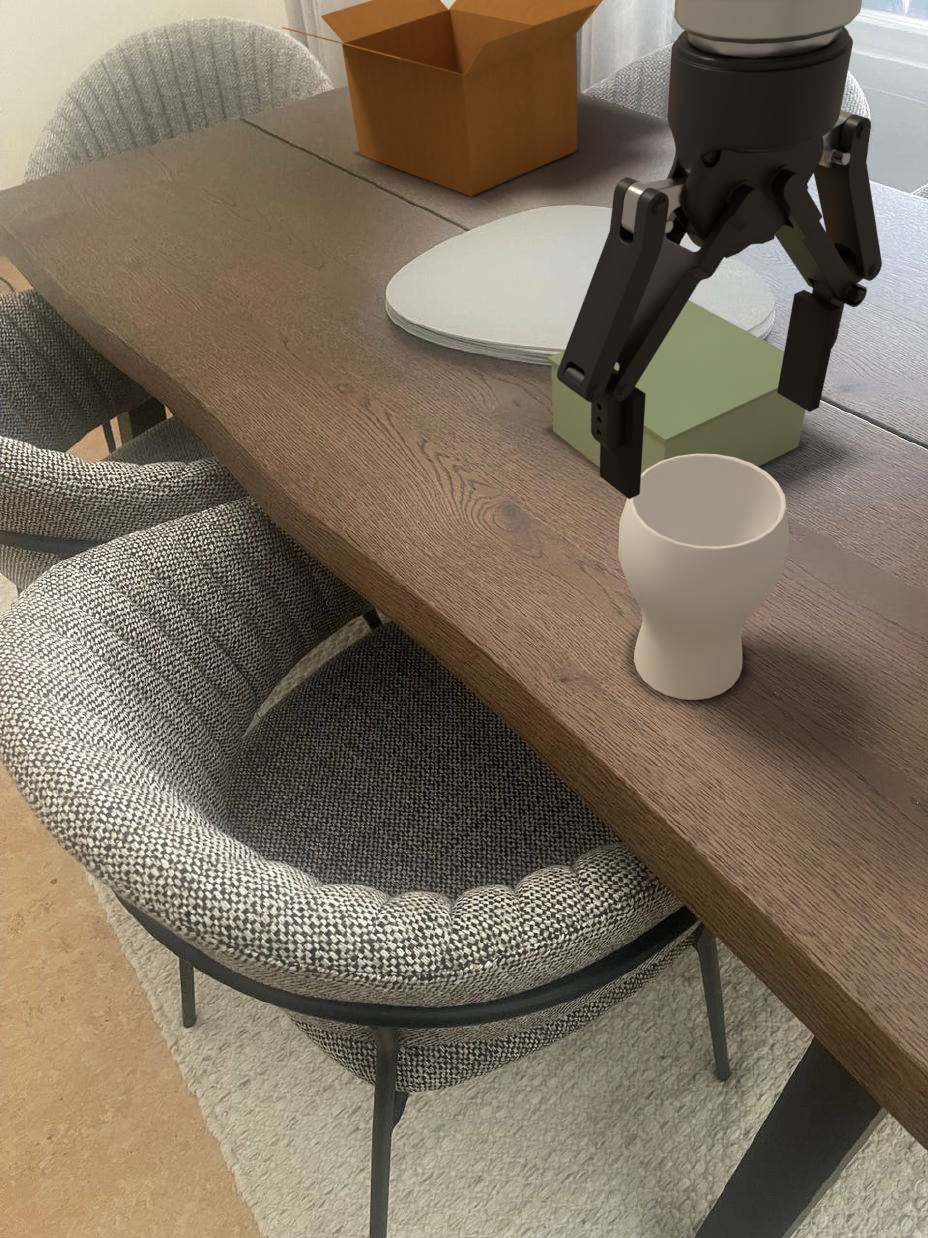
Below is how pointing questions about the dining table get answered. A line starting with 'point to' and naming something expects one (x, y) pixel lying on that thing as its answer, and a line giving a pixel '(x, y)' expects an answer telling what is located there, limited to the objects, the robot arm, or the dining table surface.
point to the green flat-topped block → (698, 396)
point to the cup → (700, 567)
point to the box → (463, 85)
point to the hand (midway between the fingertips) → (711, 441)
